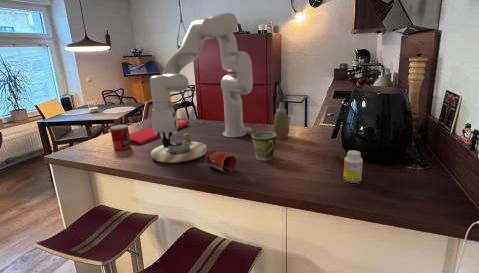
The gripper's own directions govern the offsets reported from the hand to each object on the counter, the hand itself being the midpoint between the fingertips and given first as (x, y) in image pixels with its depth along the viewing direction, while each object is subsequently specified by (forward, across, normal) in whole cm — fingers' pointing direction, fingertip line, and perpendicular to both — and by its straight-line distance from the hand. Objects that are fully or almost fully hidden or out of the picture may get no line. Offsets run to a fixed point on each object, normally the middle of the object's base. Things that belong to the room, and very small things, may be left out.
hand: (166, 146), depth 126 cm
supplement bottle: (+4, -74, +20) cm, 76 cm away
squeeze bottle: (+4, -49, -28) cm, 56 cm away
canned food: (+4, +26, -7) cm, 28 cm away
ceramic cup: (+4, -44, +2) cm, 44 cm away
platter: (+3, -6, 0) cm, 6 cm away
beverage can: (+4, -27, +13) cm, 30 cm away
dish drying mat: (+4, +21, -34) cm, 40 cm away
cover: (+1, -6, +1) cm, 6 cm away
